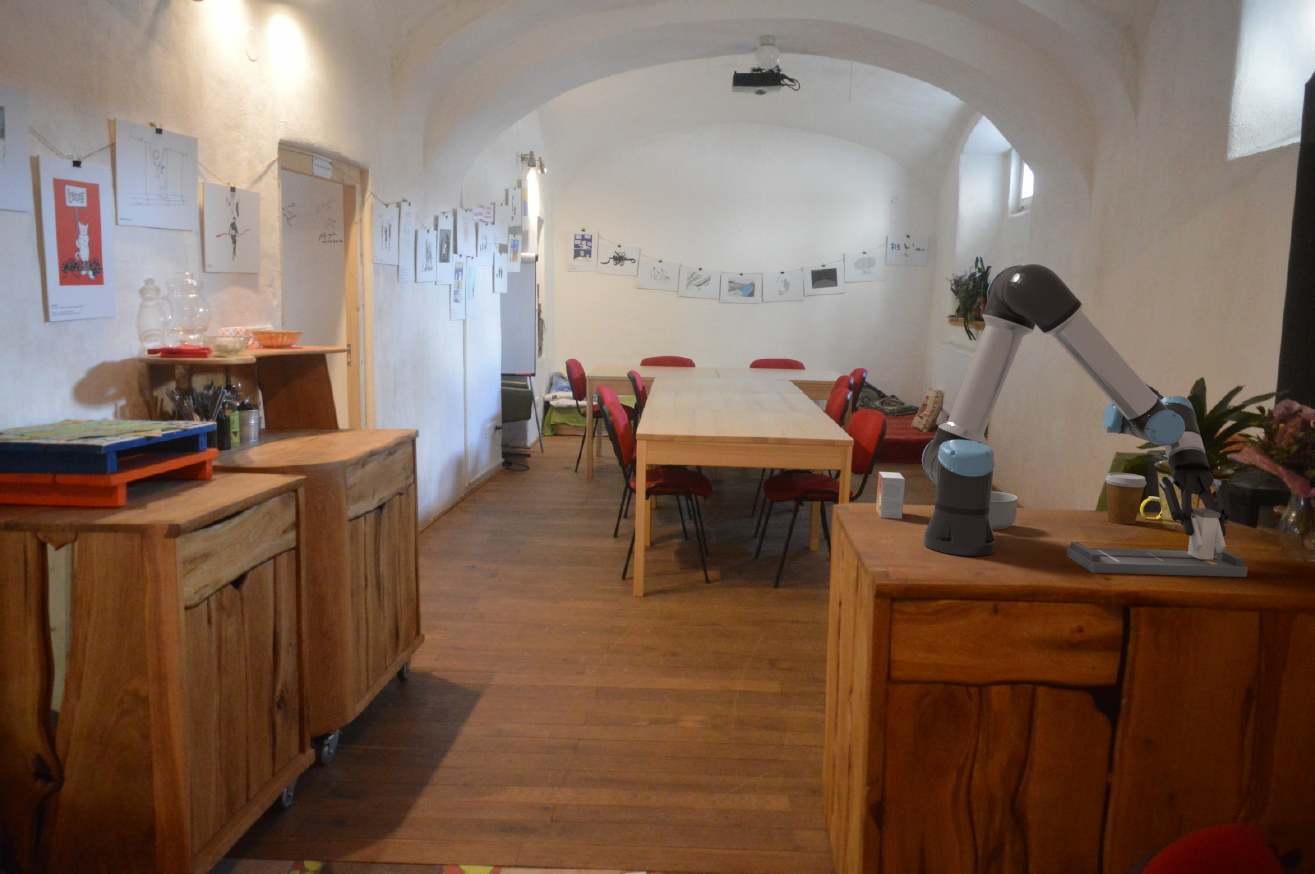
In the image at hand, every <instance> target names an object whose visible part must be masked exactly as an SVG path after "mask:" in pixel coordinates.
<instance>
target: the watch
mask: <svg viewBox="0 0 1315 874" xmlns="http://www.w3.org/2000/svg"><path fill="white" fill-rule="evenodd" d="M1160 500H1161V497H1159V496H1150V495H1149V496H1148V497H1147V498H1146V499H1144V500H1143V501H1141V503H1140V505H1139V513H1140V515H1141V516H1142V518H1144V519H1145V520H1147V521H1148V520H1152V521H1159V520H1160V519H1162V518H1161V516H1160V514H1161V513H1162V509H1161V511H1160V512H1159V514H1158V515H1156V516H1155V517H1150V516H1149V517H1147V515H1146V514H1145V512H1144V510H1145V507H1146V505H1147V504H1148V503H1149V502H1151V501H1154V502H1159V503H1160ZM1160 505H1161V503H1160Z"/></svg>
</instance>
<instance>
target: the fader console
mask: <svg viewBox="0 0 1315 874" xmlns="http://www.w3.org/2000/svg"><path fill="white" fill-rule="evenodd" d="M1065 556H1066V557H1067V558H1069V559H1070V560H1071V559H1072V560H1071V561H1073V562H1075V563H1076V564H1078V565H1080V566H1081V567H1083V568H1084V569H1086V570H1088V571H1089V572H1091V573H1095V574H1096V573H1097V574H1098V573H1099V574H1100V573H1101V574H1129V575H1130V574H1131V575H1132V574H1133V575H1134V574H1135V575H1161V576H1162V575H1163V576H1164V575H1165V576H1169V575H1170V576H1200V577H1201V576H1202V577H1203V576H1204V577H1205V576H1206V577H1237V578H1239V577H1241V578H1242V577H1243V578H1247V576H1248V570H1249V569H1248V568H1249V567H1248V566H1246V565H1245V561H1246V560H1245V558H1243V557H1242V556H1239V555H1236V554H1234V553H1232V552H1230V551H1228V550H1225V549H1223V551H1222V552H1221V553H1217V551H1216V547H1214V555H1213V560H1212V559H1197V558H1195V557H1193V556H1191V555H1189V554H1188V550H1174V549H1173V550H1171V549H1170V550H1168V549H1135V548H1133V549H1132V548H1105V547H1104V548H1103V547H1102V548H1099V547H1098V548H1097V547H1095V548H1094V547H1088V546H1085V545H1084V544H1082V543H1081V542H1078V541H1071V542H1070V546H1069V547H1066V555H1065Z"/></svg>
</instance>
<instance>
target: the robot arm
mask: <svg viewBox="0 0 1315 874" xmlns="http://www.w3.org/2000/svg"><path fill="white" fill-rule="evenodd" d="M986 296H987V303H986V305H985V307H984V311H983V312H982V315H981V316H982V319H983V321H984V323H985V326H984V329H983V330H982V331H983V332H982V334H981V336H980V339H979V341H978V344H977V347H976V349H975V351H974V354H973V357H972V359H971V361H970V364H969V366H968V369H967V371H966V374H965V377H964V380H963V382H962V384H961V387H960V389H959V392H958V394H957V397H956V400H955V402H954V404H953V407H952V409H951V412H950V414H949V417H948V420H947V421H945V422H944V423H941V424H940V425H938V427H937V429H936V432H935V435H934V437H933V439H932V440H931V441H929V443H927V445H926V446H925V448H924V449H923V452H922V455H921V456H922V458H921V462H922V463H921V464H922V467H923V468H922V469H923V471H924V473H925V475H926V477H927V478H928V480H929V481H930V482H931V483H933V484H934V485H935V498H934V510H933V513H932V515H931V518H930V521H929V522H928V525H927V527H926V529H925V532H924V537H923V544H924V546H925V547H927V548H928V549H931V550H934V551H936V552H940V553H945V554H949V555H955V556H966V557H967V556H969V557H979V556H981V557H982V556H987V555H991V554H994V553H995V551H996V550H995V549H996V539H995V535H994V529H992V526H991V522H990V518H989V510H990V500H991V491H992V487H993V478H994V477H993V476H994V468H995V463H996V462H995V452H994V450H993V448H992V447H990V446H989V445H987V444H988V441H987V440H986V437H985V432H986V430H987V429H986V428H987V427H988V424H989V422H990V419H991V417H992V415H993V412H994V411H995V410H994V409H995V407H996V404H997V402H998V400H999V398H1000V395H1001V391H1002V390H1003V387H1004V384H1005V382H1006V379H1007V377H1008V375H1009V372H1010V370H1011V368H1012V365H1013V362H1014V360H1015V358H1016V355H1017V352H1018V351H1019V347H1020V345H1021V342H1022V340H1023V338H1024V337H1025V336H1027V335H1029V334H1030V333H1033V332H1034V330H1035V327H1037V328H1038V330H1039V329H1040V331H1041V332H1042V333H1043V334H1044V335H1045V334H1047V335H1052V337H1053V338H1054V339H1055V340H1056V341H1057V342H1058V344H1059V345H1060V346H1061V347H1062V348H1063V349H1064V350H1065V351H1066V353H1068V355H1069V356H1070V357H1071V358H1072V360H1074V361H1075V362H1076V364H1077V365H1078V366H1079V368H1081V369H1082V371H1083V372H1084V373H1085V374H1086V375H1087V376H1088V378H1090V379H1091V380H1092V381H1093V383H1094V384H1095V385H1096V386H1097V387H1098V388H1099V389H1100V391H1101V392H1102V393H1103V394H1104V395H1105V396H1106V398H1107V399H1108V400H1109V402H1108V403H1107V405H1106V406H1105V408H1104V411H1103V417H1102V424H1103V427H1104V429H1105V430H1106V431H1107V432H1108V433H1114V434H1118V435H1128V436H1131V437H1135V438H1138V439H1141V440H1144V441H1147V442H1149V443H1151V444H1153V445H1161V446H1163V447H1164V450H1165V455H1166V458H1167V464H1168V468H1169V472H1170V476H1169V477H1167V476H1163V477H1162V478H1161V480H1160V482H1159V483H1158V485H1159V487H1160V488H1161V490H1162V491H1163V493H1164V497H1165V500H1166V503H1167V506H1168V509H1169V513H1170V516H1171V519H1172V520H1173V521H1180V523H1179V524H1180V525H1181V526H1183V527H1184V532H1185V535H1186V536H1189V537H1190V536H1191V540H1192V544H1193V548H1194V551H1199V550H1200V548H1201V547H1202V545H1203V543H1202V539H1201V535H1200V531H1199V527H1198V523H1197V519H1196V518H1192V515H1193V513H1192V508H1193V507H1192V504H1193V503H1192V502H1193V501H1192V496H1193V495H1197V497H1198V499H1199V500H1201V502H1202V504H1203V506H1204V508H1206V509H1210V510H1213V511H1215V512H1218V513H1220V518H1218V523H1217V531H1216V539H1215V547H1216V551H1217V553H1221V552H1222V551H1223V550H1225V548H1226V547H1227V546H1226V542H1225V539H1224V537H1225V536H1226V534H1227V529H1226V526H1225V524H1226V525H1227V524H1228V523H1229V521H1230V520H1231V518H1232V517H1233V513H1232V509H1231V508H1232V507H1231V504H1230V499H1229V495H1228V484H1229V481H1228V480H1227V479H1222V480H1219V479H1215V477H1214V475H1213V474H1212V473H1211V471H1210V464H1209V461H1208V458H1207V455H1206V449H1205V447H1204V443H1203V440H1202V436H1201V432H1200V428H1199V425H1198V420H1197V415H1196V412H1195V411H1196V410H1195V409H1194V407H1193V404H1192V402H1191V401H1190V400H1189V399H1188V398H1187V397H1185V396H1182V395H1173V396H1171V397H1170V396H1166V397H1164V398H1161V399H1159V397H1157V395H1156V394H1155V393H1154V391H1153V390H1152V389H1151V388H1150V387H1149V386H1148V385H1147V384H1146V382H1144V381H1143V379H1142V377H1140V376H1139V375H1138V374H1137V372H1136V371H1135V370H1134V369H1133V368H1132V367H1131V365H1130V364H1129V363H1128V362H1127V361H1126V360H1125V359H1124V358H1123V357H1122V355H1120V353H1119V352H1118V351H1117V349H1115V347H1114V346H1113V345H1112V344H1111V343H1110V342H1109V341H1108V339H1107V338H1106V337H1105V336H1104V334H1103V333H1101V332H1100V331H1099V329H1098V328H1097V327H1096V325H1094V324H1093V322H1092V321H1091V320H1090V319H1089V318H1088V317H1087V315H1086V314H1085V313H1084V312H1083V311H1082V309H1083V303H1082V301H1081V300H1080V299H1079V298H1078V297H1077V296H1076V295H1075V293H1074V292H1073V291H1072V290H1071V289H1070V288H1069V287H1068V286H1067V285H1066V283H1065V282H1064V281H1063V280H1062V279H1061V277H1060V276H1059V275H1058V274H1056V273H1055V272H1054V271H1053V270H1052V269H1051V268H1048V267H1047V266H1045V265H1042V264H1037V263H1036V264H1034V263H1033V264H1031V263H1029V264H1024V265H1022V264H1021V265H1019V264H1018V265H1013V266H1008V267H1007V268H1004V269H1003V270H1001V271H1000V272H999V273H997V274H996V275H995V276H994V277H993V278H992V279H991V281H990V282H989V285H988V288H987V292H986ZM1148 415H1150V416H1148ZM1135 425H1136V426H1135ZM1145 428H1148V429H1149V430H1147V429H1145ZM1211 485H1212V487H1213V488H1214V491H1215V492H1216V494H1215V496H1216V499H1215V497H1214V496H1213V493H1212V489H1211ZM1175 486H1176V487H1177V489H1179V490H1180V498H1181V500H1180V501H1181V504H1180V502H1179V498H1178V495H1177V492H1176V489H1175Z"/></svg>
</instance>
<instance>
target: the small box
mask: <svg viewBox="0 0 1315 874" xmlns="http://www.w3.org/2000/svg"><path fill="white" fill-rule="evenodd" d="M877 478H878V479H877V490H876V505H875V511H876V513H877V514H878V516H879V518H880V519H895V520H902V519H903V513H904V512H903V511H904V497H905V496H904V495H905V486H906V485H905V484H906V479H905V478H906V477H905V478H904V476H903V475H902V474H901V472H891V471H890V472H889V471H878V477H877Z"/></svg>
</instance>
